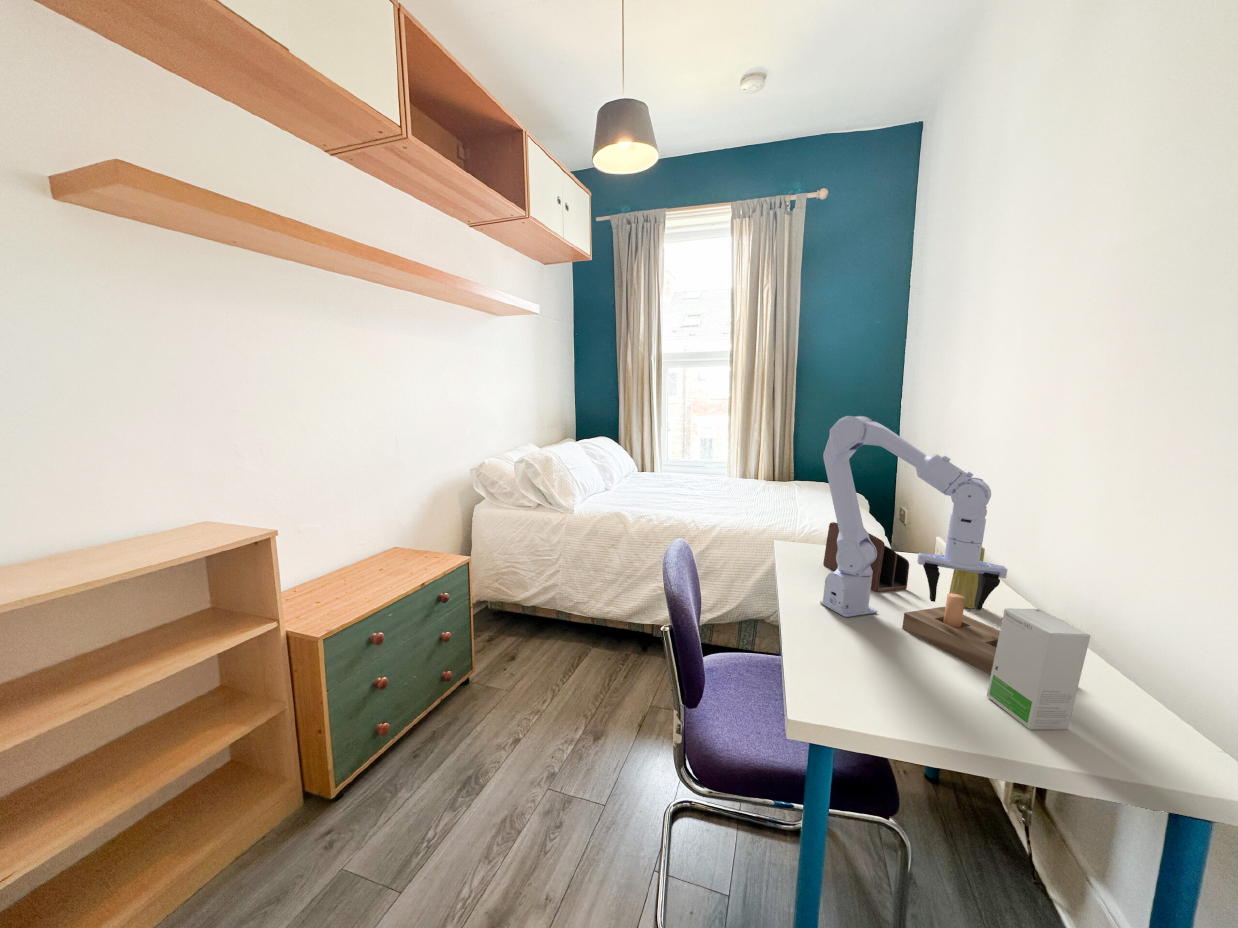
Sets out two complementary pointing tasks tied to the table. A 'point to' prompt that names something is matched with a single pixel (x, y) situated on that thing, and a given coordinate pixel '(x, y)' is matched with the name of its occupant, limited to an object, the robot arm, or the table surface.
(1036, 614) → the skincare box
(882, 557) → the letter holder
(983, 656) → the hole block
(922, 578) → the table surface
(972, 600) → the vase
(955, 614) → the peg
